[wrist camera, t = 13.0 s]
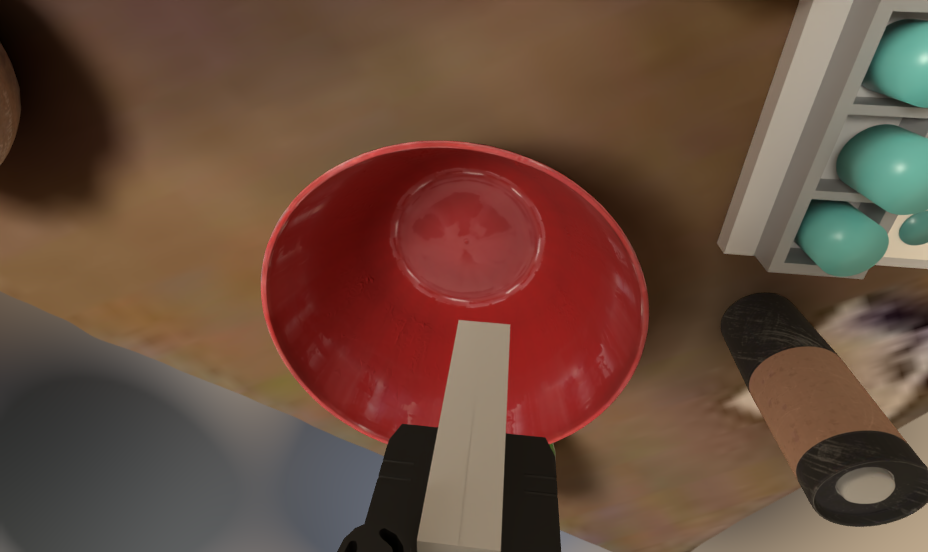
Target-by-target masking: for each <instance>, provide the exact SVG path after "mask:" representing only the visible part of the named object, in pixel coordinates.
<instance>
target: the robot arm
mask: <svg viewBox="0 0 928 552" xmlns="http://www.w3.org/2000/svg"><path fill="white" fill-rule="evenodd" d="M509 343H510V324H499V323H487V322H476V321H465V320H459V321H458V327H457V332H456V337H455V342H454V348H453V353H452V358H451V363H450V369H449V374H448V379H447V384H446V390H445V395H444V400H443V405H442V411H441V416H440V421H439V426H438V427H429V426H420V425H410V424H401V426H400V427H399V428H398V429H397V431H396V432H395V433H394V434H393V435H392V437H391V438H390V439H389V441H388V445H387V448H386V452H385V455H384V459H383V463H382V465H381V469H380V472H379V478H378V480H377V483H376V486H375V490H374V493H373V497H372V500H371V503H370V507H369V511H368V514H367V517H366V521H365V524H364V525H361V526H359V527H357V528H355V529H354V530H353V531H352V532H351V533H350V534H349V535H348V536H346V537H345V538H344V540H343V542H342V544H341V545H340V547H339V549H338V551H337V552H561V543H560V526H559V510H558V498H557V481H556V461H555V455H554V453H553V451H552V449H551V447H550V445H549V443H548V441H547V439H546V438H545V437H536V436H526V435H517V434H507V433H506V414H507V390H508V367H509Z"/></svg>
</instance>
